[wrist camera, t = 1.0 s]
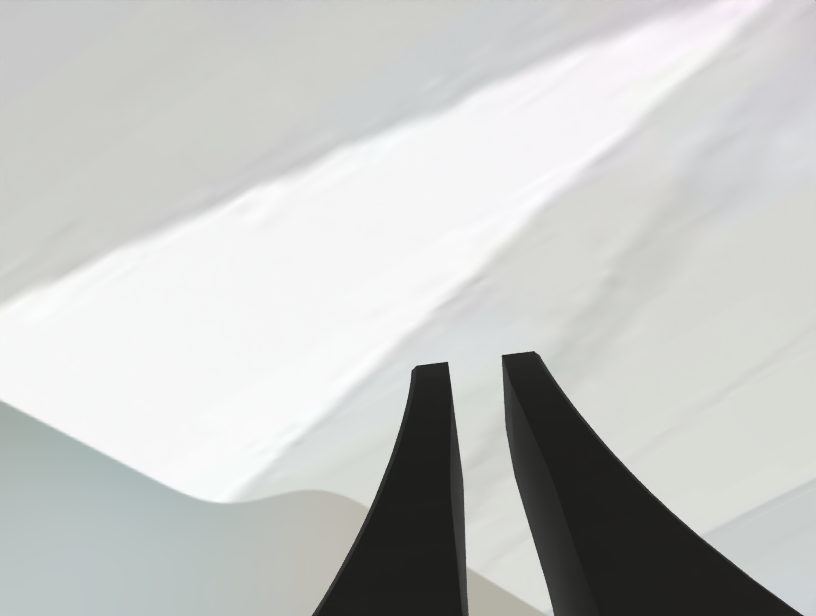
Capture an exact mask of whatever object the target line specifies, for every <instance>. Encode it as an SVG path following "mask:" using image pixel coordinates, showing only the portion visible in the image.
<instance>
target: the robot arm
mask: <svg viewBox="0 0 816 616" xmlns="http://www.w3.org/2000/svg"><path fill="white" fill-rule="evenodd" d="M502 368H503V386H504V404H505V422H506V431H507V437H508V442H509V448H510V454H511V459H512V464H513V469H514V475H515V479H516V482H517V485H518V489H519V492H520V496H521V499H522V502H523V506H524V509H525V513H526V516H527V519H528V523H529V526H530V529H531V533H532V536H533V540H534V543H535V546H536V550H537V553H538V556H539V560H540V563H541V566H542V570H543V573H544V577H545V580H546V583H547V587H548V591H549V595H550V599H551V603H552V607H553V612H554V616H803V615H802V614H800V613H799V612H797V611H796V610H794V609H793V608H792V607H790V606H789V605H788V604H786V603H785V602H784V601H782V600H781V599H779V598H778V597H777V596H775V595H774V594H773V593H771V592H770V591H768V590H767V589H766V588H764V587H763V586H762V585H760V584H759V583H757V582H756V581H755V580H753V579H752V578H751V577H750V576H748V575H747V574H746V573H745V572H743V571H742V570H741V569H740V568H738V567H737V566H736V565H735V564H733V563H732V562H731V561H730V560H728V559H727V558H726V557H725V556H723V555H722V554H721V553H720V552H718V551H717V550H716V549H715V548H713V547H712V546H711V545H710V544H708V543H707V542H706V541H705V540H703V539H702V538H701V537H700V536H698V535H697V534H696V533H695V532H694V531H693V530H692V529H690V528H689V527H688V526H687V525H686V524H685V523H684V522H683V521H681V520H680V519H679V518H678V517H677V516H676V515H675V514H673V513H672V512H671V511H670V510H669V509H668V508H667V507H666V506H665V505H664V504H663V503H662V502H661V501H660V500H659V499H657V498H656V497H655V496H654V495H653V494H652V493H651V492H650V491H649V490H648V489H647V488H646V487H645V486H644V485H643V484H642V483H641V482H640V481H639V480H638V479H637V478H636V477H635V476H634V475H633V474H632V473H631V472H630V471H629V470H628V469H627V467H626V466H625V465H624V464H623V463H622V462H621V461H620V460H619V459H618V458H617V457H616V456H615V455H614V453H613V452H612V451H611V450H610V449H609V448H608V447H607V446H606V444H605V443H604V442H603V441H602V440H601V439H600V438H599V436H598V435H597V434H596V433H595V432H594V430H593V429H592V428H591V427H590V425H589V424H588V423H587V422H586V421H585V419H584V418H583V417H582V416H581V415H580V413H579V412H578V411H577V409H576V408H575V407H574V406H573V404H572V403H571V402H570V400H569V399H568V398H567V396H566V395H565V393H564V392H563V391H562V389H561V388H560V387H559V385H558V384H557V382H556V381H555V379H554V378H553V376H552V375H551V373H550V372H549V370H548V369H547V367H546V366H545V364H544V362H543V361H542V359H541V357H540V355H538V354H537V353H535V352H534V351H532V352H524V353H516V354H508V355H502ZM468 615H469V614H468V600H467V579H466V549H465V518H464V489H463V476H462V468H461V460H460V452H459V444H458V436H457V428H456V421H455V413H454V405H453V397H452V389H451V382H450V374H449V366H448V362H443V363H435V364H427V365H419V366H416V367H415V368H414V369H413V370H412V372H411V383H410V389H409V395H408V400H407V404H406V408H405V412H404V416H403V420H402V423H401V427H400V430H399V433H398V436H397V439H396V442H395V446H394V449H393V452H392V455H391V458H390V461H389V463H388V466H387V468H386V471H385V473H384V476H383V479H382V481H381V484H380V486H379V489H378V491H377V494H376V496H375V499H374V501H373V503H372V506H371V508H370V510H369V513H368V514H367V517H366V519H365V521H364V523H363V525H362V527H361V530H360V532H359V533H358V536H357V537H356V540H355V542H354V544H353V545H352V547H351V549H350V551H349V553H348V555H347V557H346V558H345V560H344V562H343V564H342V566H341V568H340V570H339V571H338V573H337V575H336V577H335V579H334V581H333V582H332V584H331V586H330V587H329V589H328V591H327V592H326V594H325V596H324V598H323V599H322V601H321V602H320V604H319V606H318V607H317V609H316V610H315V612H314V613H313V615H312V616H468Z"/></svg>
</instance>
